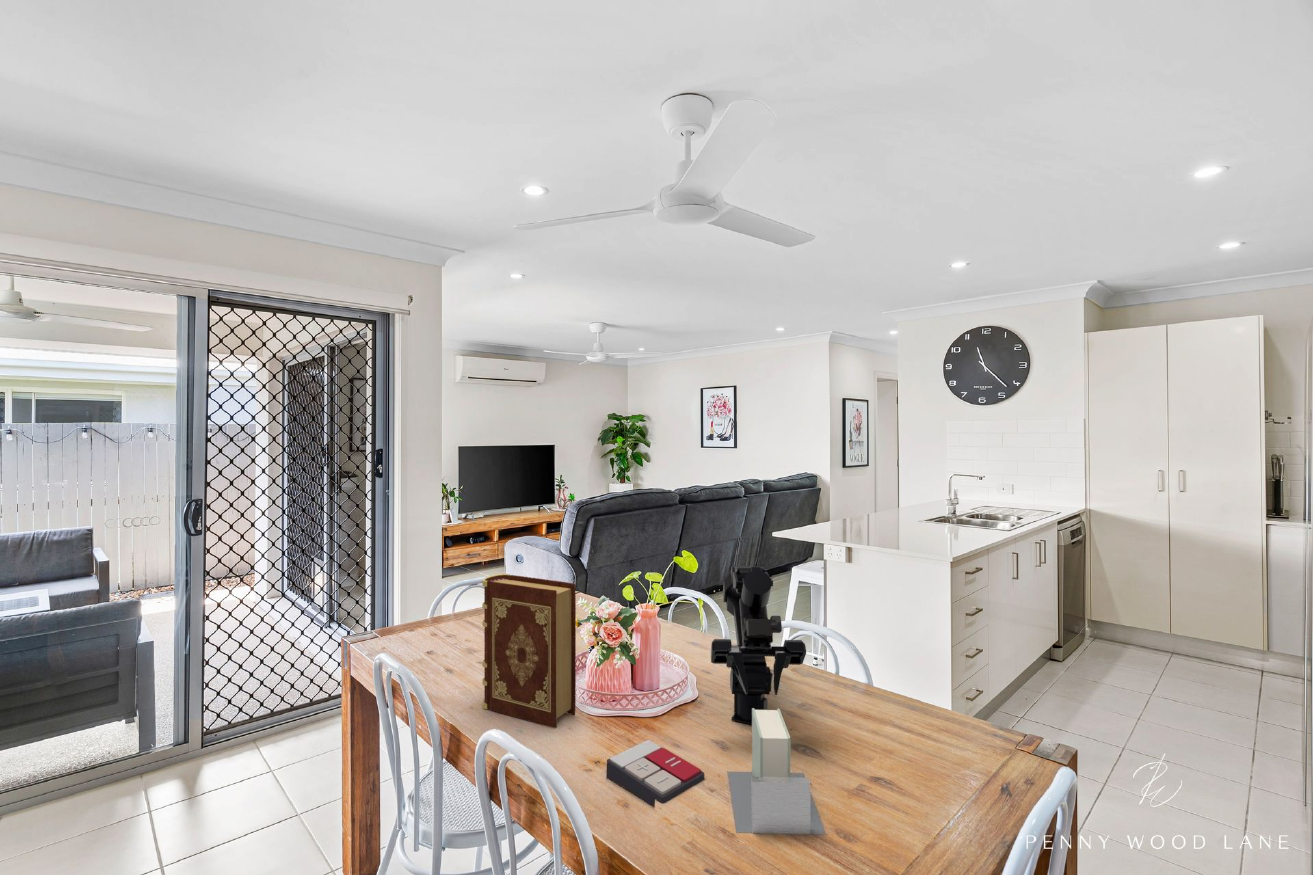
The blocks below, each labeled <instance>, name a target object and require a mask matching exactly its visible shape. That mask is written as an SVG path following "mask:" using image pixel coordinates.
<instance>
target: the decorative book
mask: <svg viewBox="0 0 1313 875" xmlns="http://www.w3.org/2000/svg"><path fill="white" fill-rule="evenodd" d="M481 583H482V584H481V585H482V586H483V587H484V590H483V591H484V593H483V594H484V598H483V599H484V602H482V605H481V607H482V608H483V609H484V616H483V617H484V619H483V620H482V622H481V623H482V627H484V632H483V634H484V643H483V644H484V646H483V647H484V650H483V651H484V653H483V654H484V655H483V656H484V659H483V661H482V667H483V668H484V674H483V675H484V677H483V678H482V680H481V681H482V682H481V684H482V685H483V686H484V694H483V695H484V696H483V697H484V699H483V700H482V708H483V709H484V710H489V711H491V712H494V713H498V714H499V713H500V714H503V715H506V716H510V717H513V718H517V719H521V720H525V721H527V722H530V723H531V722H532V723H535V724H539V725H543V726H546V727H550V728H557V727H558V725H557V719H558V718H559V717H562V716H563V715H564V714H565V713H567V714H569V715H573V716H575V715H576V699H577V698H576V695H577V693H576V692H577V691H576V688H577V687H576V685H577V684H576V683H577V682H576V681H577V679H576V678H577V677H576V674H577V672H576V671H577V669H576V667H577V666H576V665H577V664H576V662H577V661H576V660H577V658H576V657H577V656H576V653H577V652H576V651H577V648H576V647H577V646H576V643H577V642H576V638H577V637H576V634H577V633H576V630H577V629H576V628H577V626H576V624H577V622H576V620H577V619H576V614H577V613H576V610H577V608H576V606H577V605H576V599H577V598H576V595H577V594H576V583H573V582H566V581H560V580H551V579H544V578H536V577H531V576H530V577H529V576H522V575H515V574H509V573H499V574H493V575H489V576H487V577H485V578H483V579H482V582H481Z"/></svg>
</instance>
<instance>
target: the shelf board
mask: <svg viewBox="0 0 1313 875" xmlns="http://www.w3.org/2000/svg"><path fill="white" fill-rule="evenodd" d="M751 776H752V771H728V770H727V779H728V786H729V794H730V799H731V807H732V813H733V814H732V815H733V819H734V821H733V822H734V826H735V833H737V834H753V833H752V829H751ZM790 777H805V778H806V775H805V773H804V772H790ZM765 834H770V835H772V834H774V835H775V834H776V835H778V834H779V835H781V834H780V833H764V835H765ZM809 835H811V836H812V835H815V836H816V835H819V836H820V835H822V836H826V835H827V832H826V830H825V827H824V824H823V821H822V819H821V816H820V813H819V810H818V808H817V806H816V802H815V800H814V797H813V795H812V792H811V791H810V834H809Z"/></svg>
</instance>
